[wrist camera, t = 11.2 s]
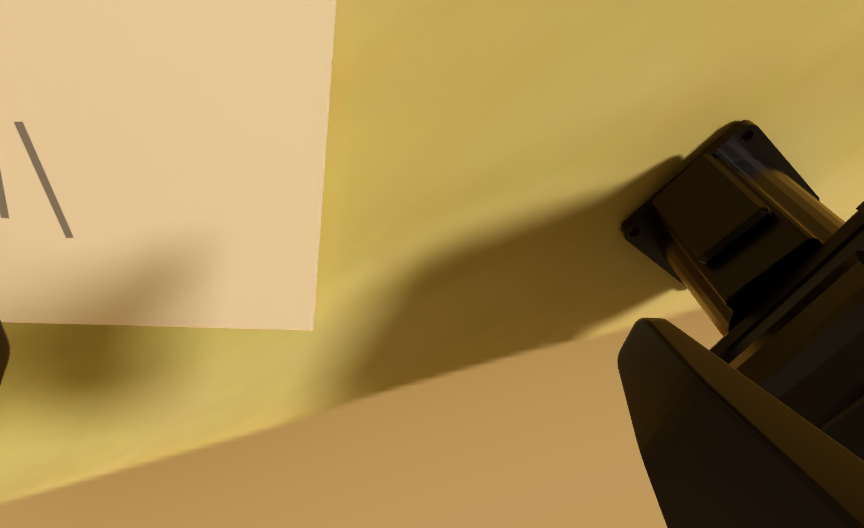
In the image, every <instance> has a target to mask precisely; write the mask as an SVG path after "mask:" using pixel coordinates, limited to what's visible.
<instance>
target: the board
mask: <svg viewBox="0 0 864 528" xmlns="http://www.w3.org/2000/svg"><path fill="white" fill-rule="evenodd" d="M335 13H336V0H0V320H1V322H12V323H50V324H89V325H127V326H165V327H204V328H242V329H280V330H313V327H314V312H315V298H316V284H317V270H318V255H319V241H320V227H321V213H322V198H323V184H324V170H325V156H326V141H327V127H328V113H329V98H330V84H331V70H332V56H333V41H334V27H335Z"/></svg>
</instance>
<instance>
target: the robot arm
mask: <svg viewBox="0 0 864 528" xmlns="http://www.w3.org/2000/svg"><path fill="white" fill-rule="evenodd" d="M746 131H747V133H746V134H745V135H744V136H743V137H741V135H742V134H743V133H744V132H746ZM819 201H820V200H819V197H818V196H817V195H816V194H815V193H814V191H813V190H812V189H811V188H810V187H809V186H808V184H807V183H806V182H805V181H804V180H803V179H802V177H801V176H800V175H799V174H798V173H797V172H796V170H795V169H794V168H793V167H792V166H791V165H790V163H789V162H788V161H787V160H786V159H785V157H784V156H783V155H782V154H781V153H780V152H779V150H778V149H777V148H776V147H775V146H774V145H773V143H772V142H771V141H770V140H769V139H768V138H767V136H766V135H765V134H764V133H763V132H762V131H761V129H760V128H759V127H758V126H757V125H755V124H754V123H752V122H751V121H749V120H743V121H740V122H738V123H737V124H735V125H734V126H733V127H732V128H731V129H730V130H728V131H727V132H726V133H725V134H724V135H723V136H722V137H720V138H719V139H718V140H717V141H716V142H715V143H713V144H712V145H711V146H710V147H709V148H708V149H707V150H705V151H704V152H703V153H702V154H701V155H700V156H699V157H697V158H696V159H695V160H694V161H693V162H692V163H691V164H689V165H688V166H687V167H686V168H685V169H684V170H683V171H681V172H680V173H679V174H678V175H677V176H676V177H675V178H673V179H672V180H671V181H670V182H669V183H668V184H667V185H665V186H664V187H663V188H662V189H661V190H660V191H659V192H657V193H656V194H655V195H654V196H653V197H652V198H651V199H649V200H648V201H647V202H646V203H645V204H644V205H643V206H641V207H640V208H639V209H638V210H637V211H636V212H635V213H633V214H632V215H631V216H630V217H629V218H628V219H627V220H625V221H624V223H623V224H622V225H621V228H620V231H621V233H622V235H623V236H624V237H625V239H626V240H627V241H628V242H630V243H631V244H632V245H634V246H635V247H636V248H637V249H639V250H640V251H641V252H643V253H644V254H645V255H646V256H648V257H649V258H650V259H652V260H653V261H654V262H656V263H657V264H658V265H659V266H661V267H662V268H663V269H665V270H666V271H667V272H668V273H670V274H671V275H672V276H674V277H675V278H676V279H677V280H679V281H680V282H681V283H683V284H684V285H685V286H686V287H687V288H688V290H689V291H690V292H691V294H692V295H693V296H694V298H695V299H696V300H697V302H698V303H699V304H700V306H701V307H702V309H703V310H704V311H705V312H706V314H707V315H708V316H709V318H710V319H711V321H712V322H713V323H714V325H715V326H716V327H717V329H718V330H719V331H720V333H721V334H722V335H723V338H722V339H720V340H719V341H718V342H717V343H716V344H715V345H714V346H713V347H712V348H711V349H710V350H708V349H707V348H705V347H704V346H702V345H701V344H700V343H698V342H697V341H695V340H694V339H693V338H691V337H690V336H688V335H687V334H686V333H684V332H683V331H681V330H680V329H678V328H677V327H676V326H675V325H673V324H672V323H670V322H669V321H667V320H665V319H661V318H641V319H639V320H638V321H636V322H635V324H634V326H633V327H632V329H631V331H630V333H629V335H628V337H627V338H626V340H625V342H624V344H623V346H622V348H621V349H620V352H619V355H618V369H619V373H620V377H621V381H622V385H623V389H624V392H625V396H626V400H627V405H628V408H629V412H630V416H631V420H632V424H633V428H634V432H635V436H636V439H637V443H638V446H639V450H640V453H641V456H642V459H643V462H644V465H645V468H646V471H647V473H648V476H649V479H650V481H651V484H652V487H653V490H654V492H655V495H656V498H657V500H658V503H659V506H660V509H661V511H662V514H663V517H664V519H665V522H666V525H667V527H668V528H864V201H863V202H862V203H861V204H860V205H859V206H858V207H857V208H856V209H857V210H858V211H857V212H856V213H855V214H854V215H853V216H852V217H851V218H850V219H849V220H848V221H846V222H844V221H843V220H842V219H841V218H839V217H838V216H837V215H836V214H834V213H833V212H832V211H831V210H829V209H828V208H827V207H826V206H824V205H823V204H822V203H821V202H819ZM635 227H636V229H635V230H633V231H631V229H633V228H635ZM9 356H10V344H9V340H8V337H7V335H6V332H5V330H4V327H3V325H2V322H1V320H0V385H1V382H2V379H3V376H4V373H5V370H6V367H7V364H8V361H9Z"/></svg>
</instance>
